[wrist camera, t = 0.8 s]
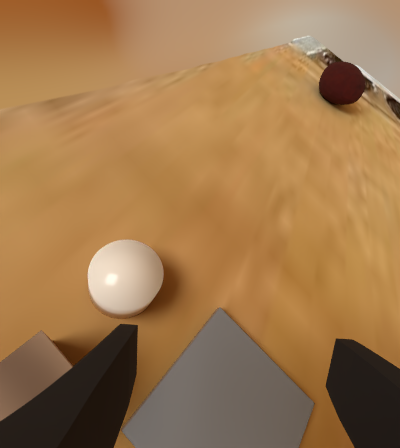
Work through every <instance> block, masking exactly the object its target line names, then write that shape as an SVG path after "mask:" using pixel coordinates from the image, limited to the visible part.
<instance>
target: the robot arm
mask: <svg viewBox="0 0 400 448" xmlns="http://www.w3.org/2000/svg"><path fill="white" fill-rule="evenodd" d="M137 331H138V325H128V324H120V325H119V326H118V327H117V328H115V329H114V330H113V331H112V332H111V333H110V334H109V335H108V336H107V337H106V338H105V339H104V340H103V341H101V342H100V343H99V344H98V345H97V346H96V347H95V348H94V349H93V350H92V351H90V352H89V353H88V354H87V355H86V356H85V357H84V358H82V359H81V360H80V361H79V362H78V363H77V364H76V365H74V366H73V367H72V368H71V369H70V370H68V371H67V372H66V373H65V374H64V375H62V376H61V377H60V378H59V379H57V380H56V381H55V382H54V383H52V384H51V385H50V386H49V387H47V388H46V389H45V390H44V391H42V392H41V393H40V394H38V395H37V396H36V397H34V398H33V399H32V400H30V401H29V402H27V403H26V404H25V405H23V406H22V407H20V408H19V409H17V410H16V411H15V412H13V413H12V414H10V415H9V416H7V417H6V418H4V419H3V420H1V421H0V448H114V445H115V442H116V439H117V437H118V434H119V431H120V428H121V425H122V423H123V420H124V417H125V414H126V411H127V408H128V405H129V402H130V398H131V394H132V390H133V386H134V382H135V377H136V370H137ZM326 388H327V391H328V393H329V396H330V398H331V401H332V403H333V405H334V408H335V410H336V412H337V415H338V417H339V419H340V421H341V423H342V425H343V427H344V429H345V430H346V432H347V434H348V436H349V438H350V440H351V442H352V443H353V445H354V447H355V448H400V369H399V368H397V367H396V366H394V365H393V364H391V363H390V362H388V361H387V360H385V359H384V358H382V357H380V356H379V355H377V354H376V353H374V352H373V351H371V350H369V349H368V348H366V347H365V346H363V345H361V344H360V343H358V342H356V341H354V340H350V339H336V341H335V346H334V350H333V355H332V359H331V364H330V368H329V373H328V377H327V382H326Z"/></svg>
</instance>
